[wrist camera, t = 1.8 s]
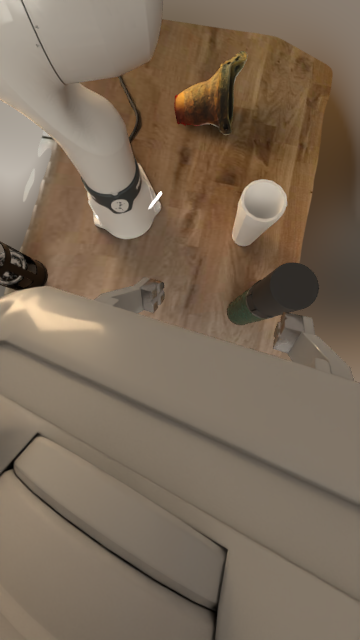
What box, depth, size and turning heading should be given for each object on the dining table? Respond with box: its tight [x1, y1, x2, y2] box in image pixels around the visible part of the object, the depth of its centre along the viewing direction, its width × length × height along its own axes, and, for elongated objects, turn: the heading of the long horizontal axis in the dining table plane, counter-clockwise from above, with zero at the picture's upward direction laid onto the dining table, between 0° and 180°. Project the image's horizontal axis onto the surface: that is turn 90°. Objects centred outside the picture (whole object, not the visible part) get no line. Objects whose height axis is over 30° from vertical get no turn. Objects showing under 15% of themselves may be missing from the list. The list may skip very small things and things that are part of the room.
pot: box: [175, 51, 247, 135], centre depth 52 cm, size 17×11×18 cm
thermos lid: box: [246, 263, 319, 319], centre depth 30 cm, size 7×7×9 cm
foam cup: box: [232, 179, 287, 246], centre depth 45 cm, size 10×9×13 cm
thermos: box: [227, 288, 275, 325], centre depth 41 cm, size 7×7×17 cm
